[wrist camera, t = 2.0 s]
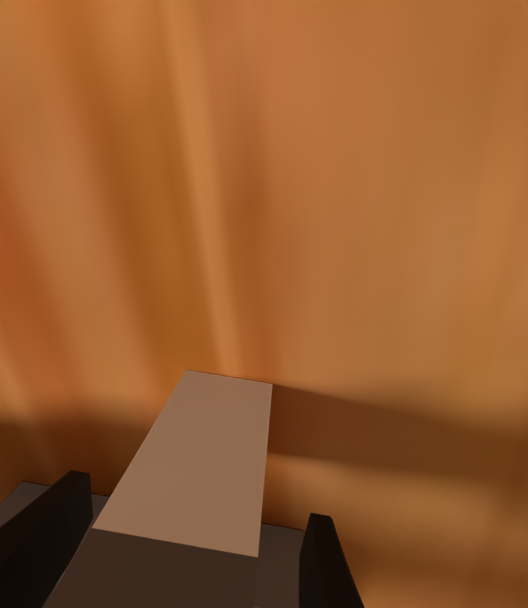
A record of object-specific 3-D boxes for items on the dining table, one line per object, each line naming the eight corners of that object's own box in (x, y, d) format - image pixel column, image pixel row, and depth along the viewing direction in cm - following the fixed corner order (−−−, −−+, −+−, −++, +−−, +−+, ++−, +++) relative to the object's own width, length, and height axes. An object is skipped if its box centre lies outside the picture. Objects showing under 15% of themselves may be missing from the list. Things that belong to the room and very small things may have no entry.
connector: (182, 438, 15) (46, 745, 7) (186, 370, 14) (21, 645, 5) (260, 451, 15) (225, 781, 6) (272, 383, 14) (246, 687, 5)
